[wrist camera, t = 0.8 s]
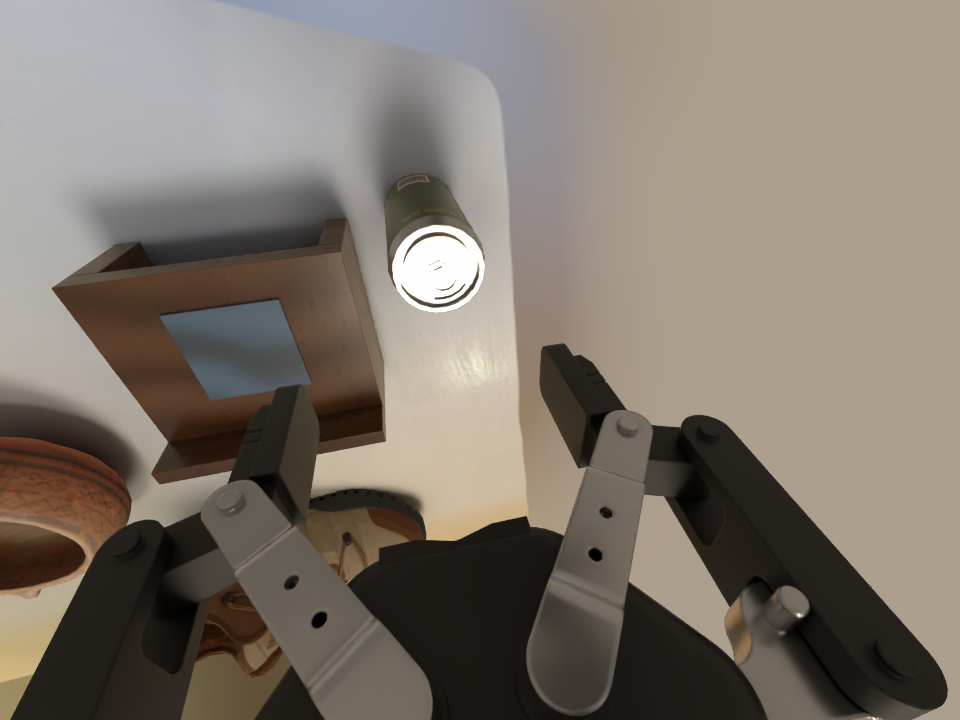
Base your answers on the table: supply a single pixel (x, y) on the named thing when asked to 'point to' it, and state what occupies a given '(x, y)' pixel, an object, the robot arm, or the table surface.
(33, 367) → the table surface
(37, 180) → the table surface
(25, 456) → the bowl
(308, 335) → the wooden stand with backboard
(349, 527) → the shoe
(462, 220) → the beer can
